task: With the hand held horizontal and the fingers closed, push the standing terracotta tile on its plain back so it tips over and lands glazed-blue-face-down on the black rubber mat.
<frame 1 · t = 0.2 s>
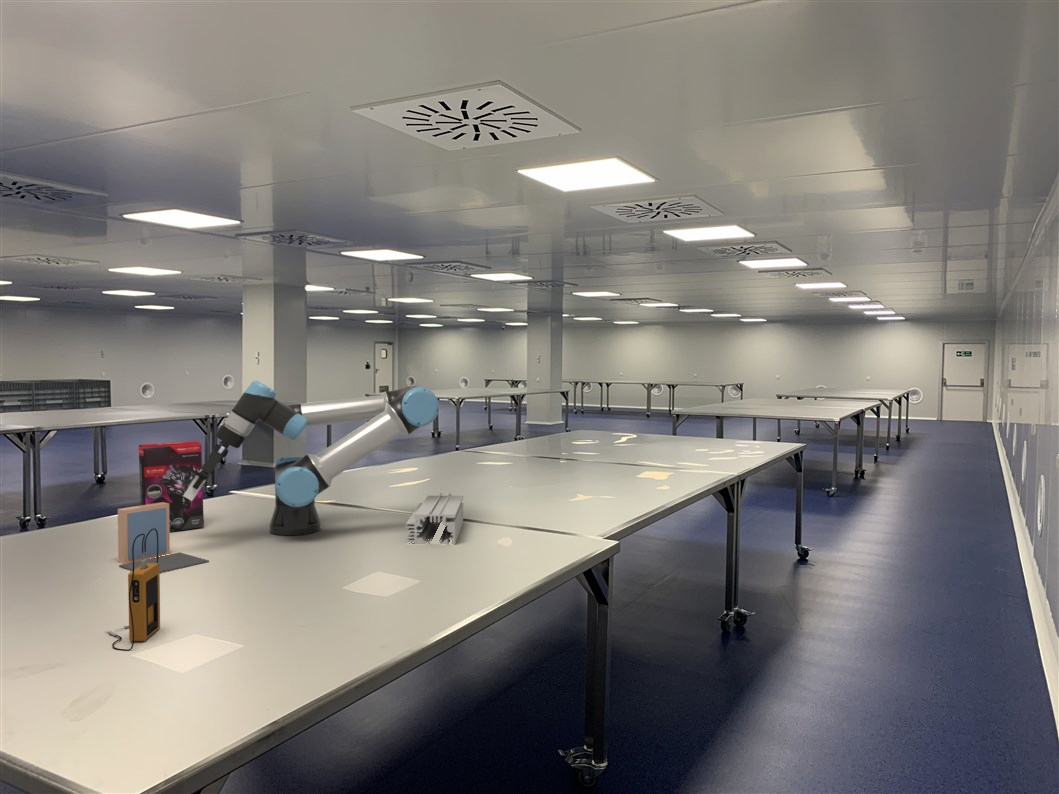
hand: (189, 494, 204), 15 cm above the table, tool tilted 35°, fingers open, 13 cm apart
tile: (144, 558, 193), on the table
aluminum extrusion profile: (436, 534, 225), on the table
multimeter: (125, 637, 138), on the table
mat: (164, 564, 187), on the table
graphics card box: (172, 531, 226), on the table
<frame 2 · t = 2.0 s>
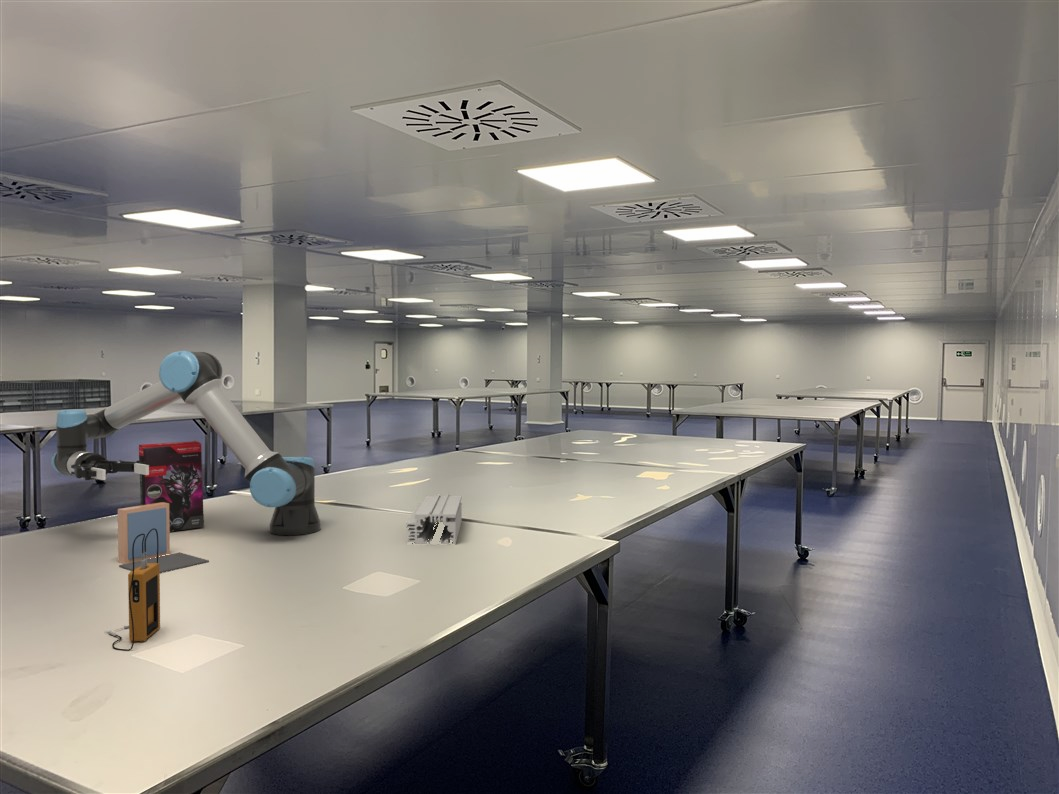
hand: (126, 472, 197), 22 cm above the table, tool horizontal, fingers open, 11 cm apart
nothing on the table moved.
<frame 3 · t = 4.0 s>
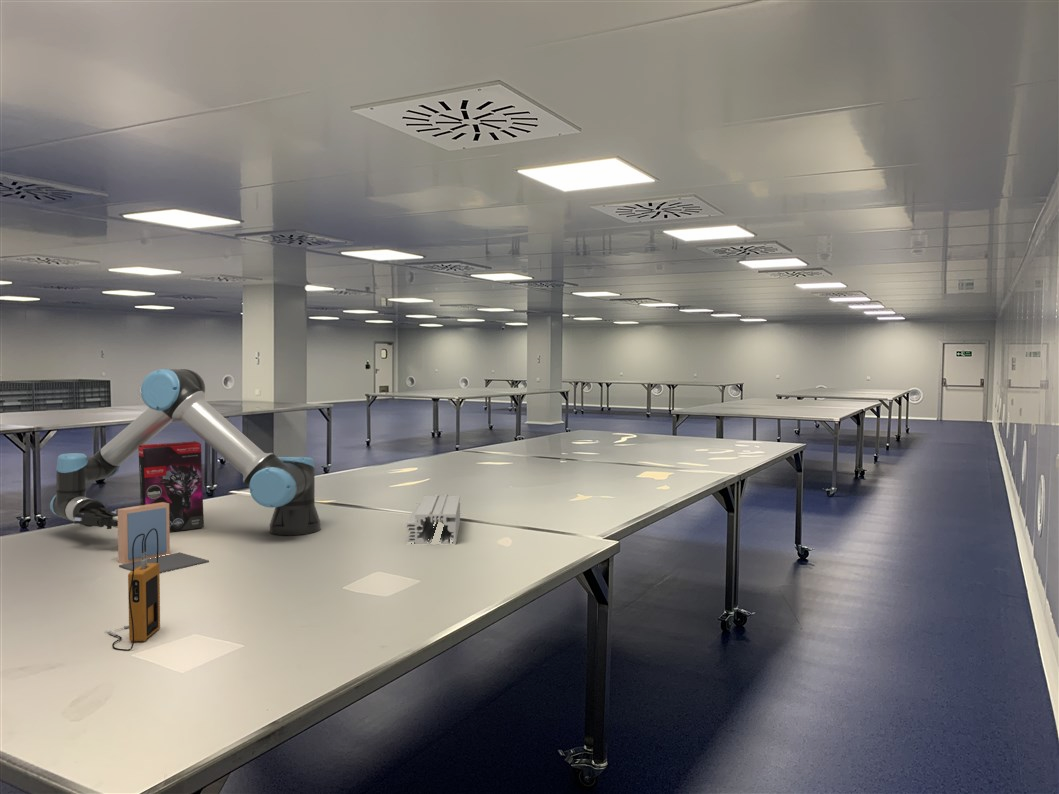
hand: (127, 525, 197), 8 cm above the table, tool horizontal, fingers closed
graphics card box: (172, 531, 226), on the table, touching arm
everything else where it was.
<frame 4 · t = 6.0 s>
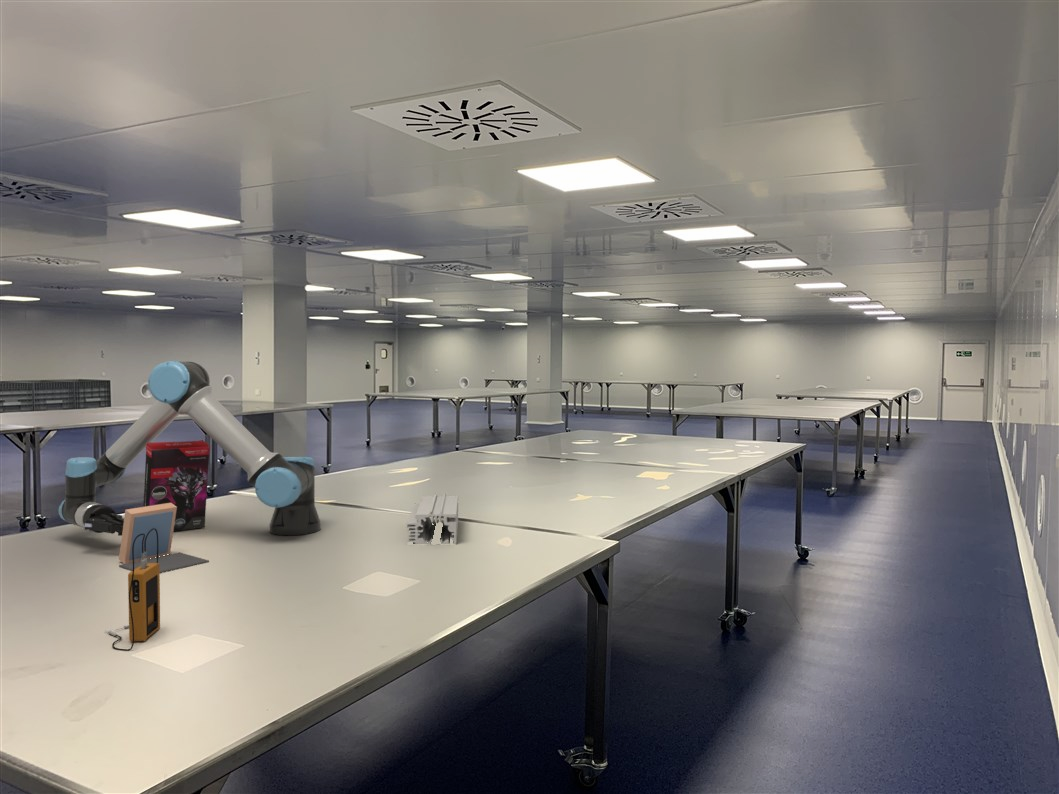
hand: (139, 531, 192), 7 cm above the table, tool horizontal, fingers closed
tile: (144, 557, 193), on the table, tilted 16°
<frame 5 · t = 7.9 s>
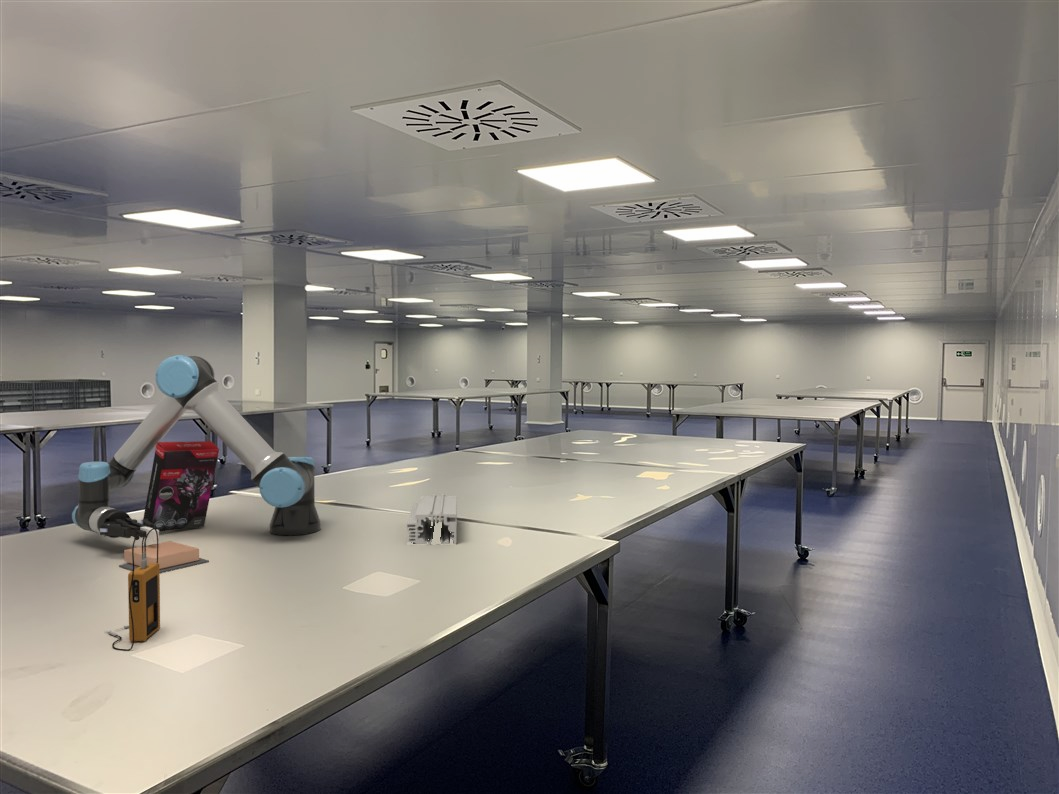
hand: (156, 535, 189), 7 cm above the table, tool horizontal, fingers closed
tile: (147, 550, 192), point 2 cm above the table, tilted 90°, touching mat
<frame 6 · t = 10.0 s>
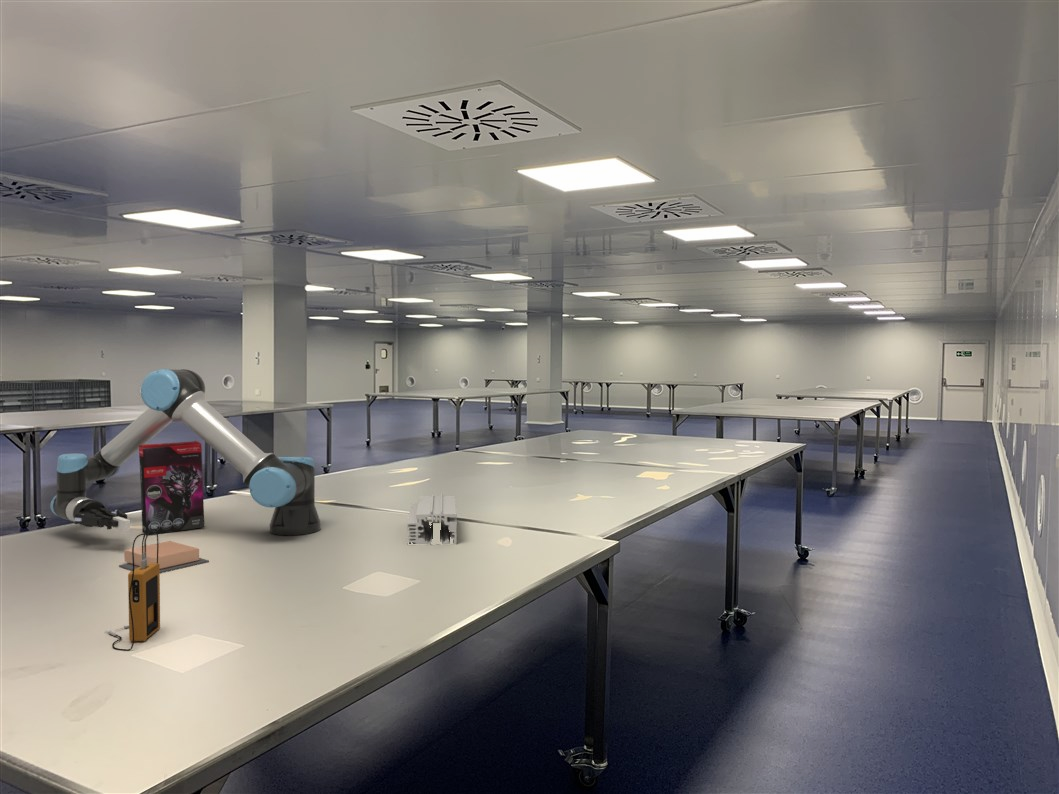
hand: (127, 525, 197), 8 cm above the table, tool horizontal, fingers closed
graphics card box: (172, 531, 226), on the table, touching arm
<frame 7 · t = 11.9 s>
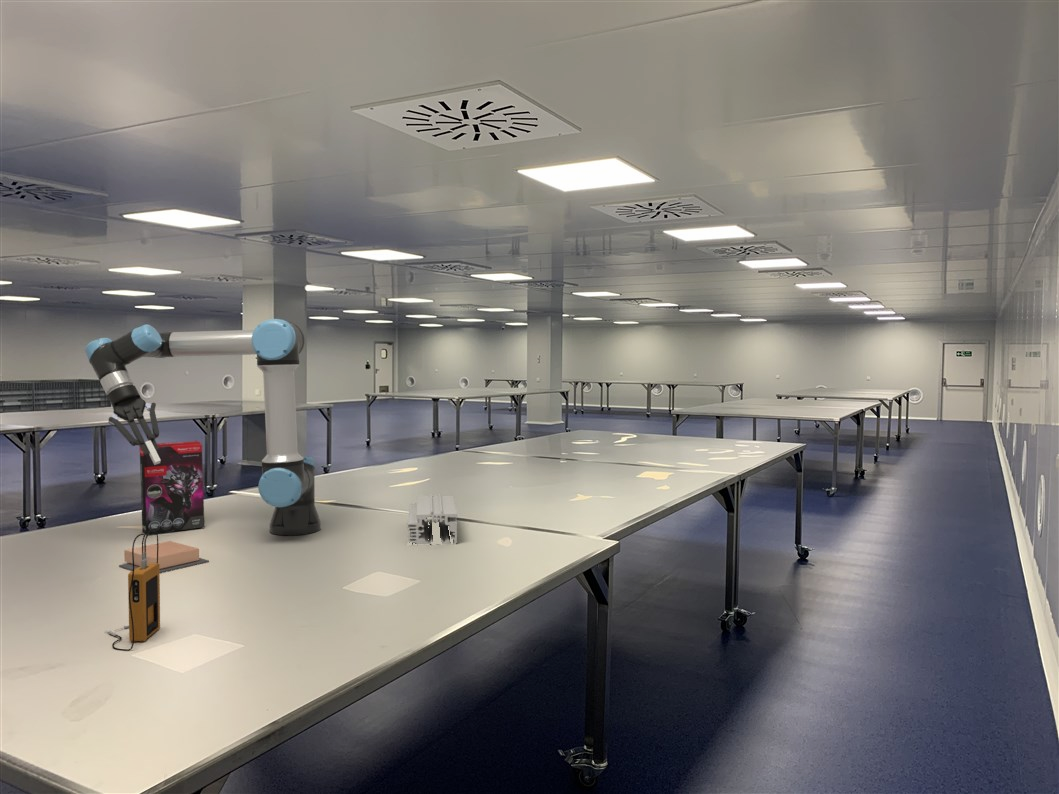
hand: (157, 462, 205), 24 cm above the table, tool tilted 30°, fingers closed
graphics card box: (172, 531, 226), on the table
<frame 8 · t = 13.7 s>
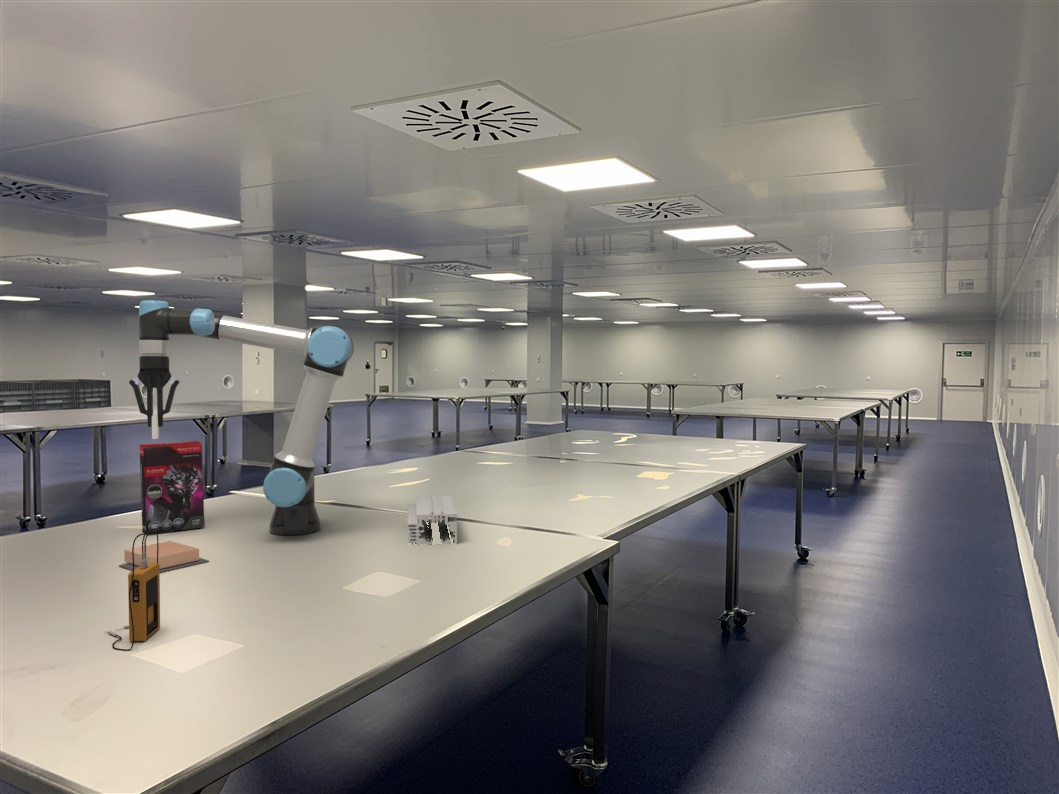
hand: (155, 438, 207), 30 cm above the table, tool pointing down, fingers closed
at the end: tile tilted 90°; tile 8.4 cm from the mat (horizontally) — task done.
